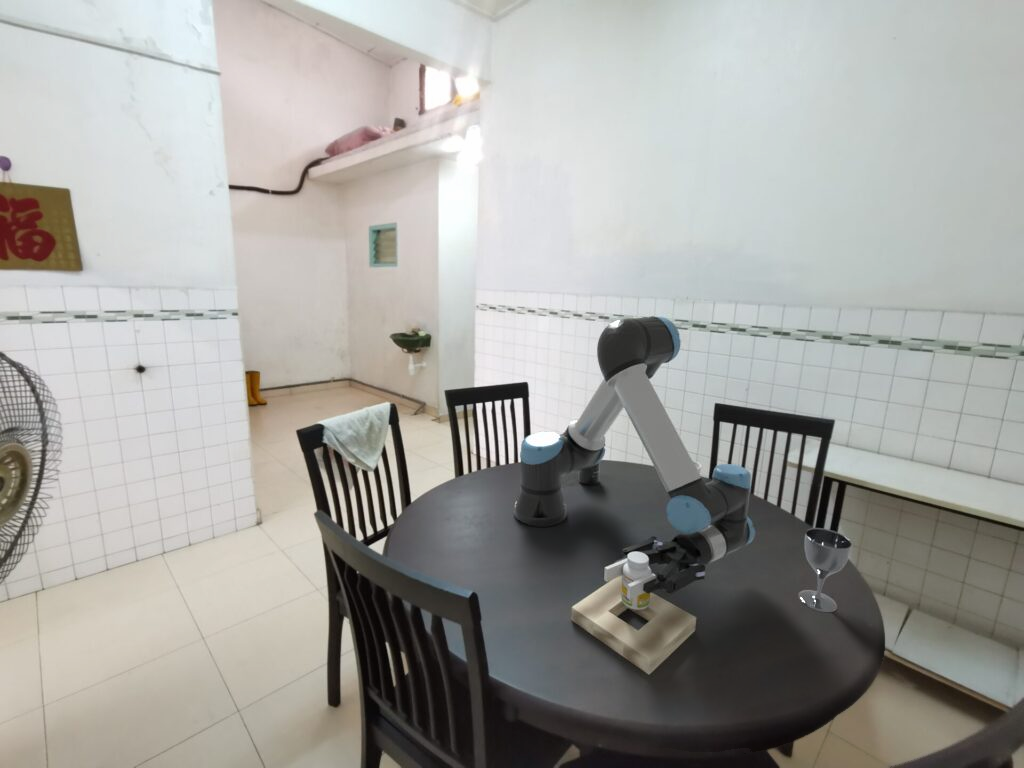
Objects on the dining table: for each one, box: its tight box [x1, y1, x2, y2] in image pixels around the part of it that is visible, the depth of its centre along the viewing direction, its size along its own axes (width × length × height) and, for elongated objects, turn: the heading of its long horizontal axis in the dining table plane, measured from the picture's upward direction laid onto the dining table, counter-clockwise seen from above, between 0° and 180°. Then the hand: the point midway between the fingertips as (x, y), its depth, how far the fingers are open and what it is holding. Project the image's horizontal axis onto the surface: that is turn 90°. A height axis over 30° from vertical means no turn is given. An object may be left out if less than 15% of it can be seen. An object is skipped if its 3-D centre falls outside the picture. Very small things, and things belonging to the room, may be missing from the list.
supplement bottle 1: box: [578, 461, 601, 486], centre depth 159 cm, size 7×7×12 cm
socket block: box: [570, 575, 697, 675], centre depth 94 cm, size 18×16×3 cm
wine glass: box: [797, 527, 852, 613], centre depth 100 cm, size 8×8×15 cm
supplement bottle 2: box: [621, 552, 653, 610], centre depth 92 cm, size 5×5×10 cm
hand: (617, 583), depth 89 cm, fingers closed on supplement bottle 2, 5 cm apart
